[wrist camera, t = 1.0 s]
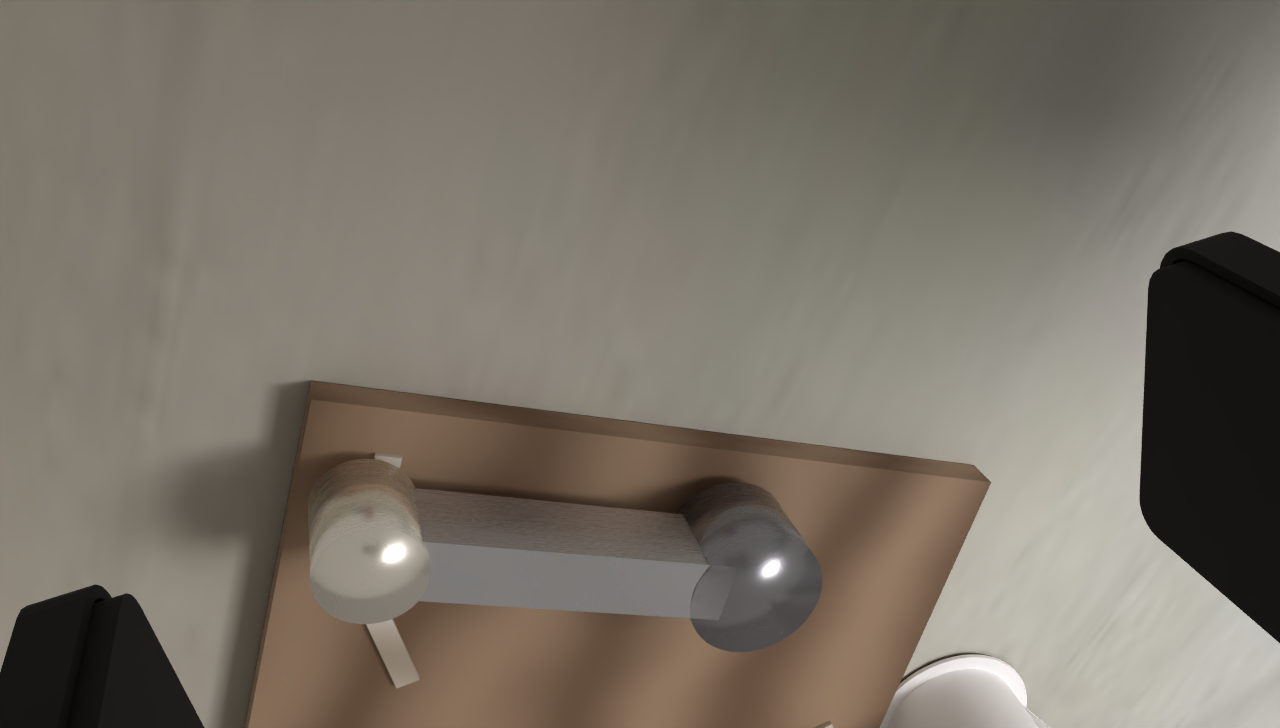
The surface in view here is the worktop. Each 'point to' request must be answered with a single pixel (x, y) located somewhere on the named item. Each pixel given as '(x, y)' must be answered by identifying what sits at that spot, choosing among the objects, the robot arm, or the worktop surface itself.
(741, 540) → the peg lever
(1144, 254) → the worktop surface
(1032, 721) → the downlight
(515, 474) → the dial board
